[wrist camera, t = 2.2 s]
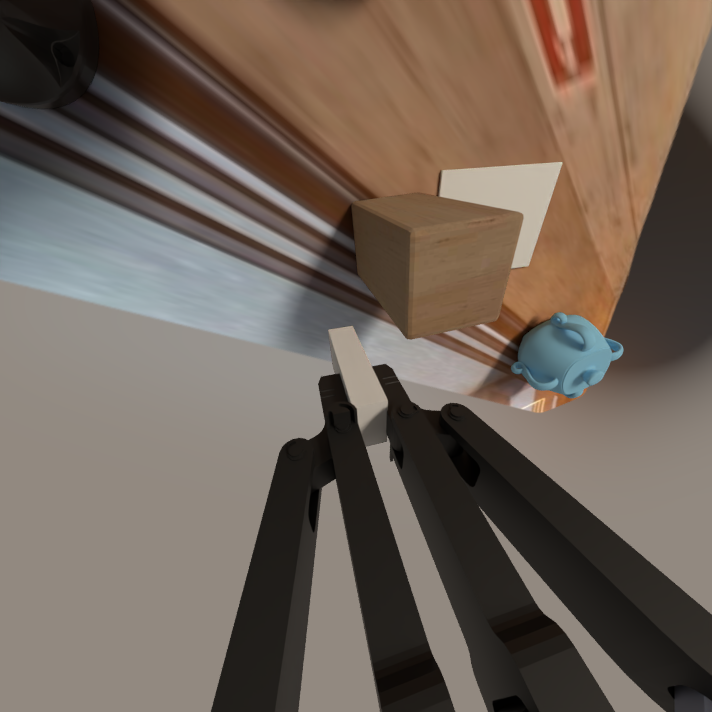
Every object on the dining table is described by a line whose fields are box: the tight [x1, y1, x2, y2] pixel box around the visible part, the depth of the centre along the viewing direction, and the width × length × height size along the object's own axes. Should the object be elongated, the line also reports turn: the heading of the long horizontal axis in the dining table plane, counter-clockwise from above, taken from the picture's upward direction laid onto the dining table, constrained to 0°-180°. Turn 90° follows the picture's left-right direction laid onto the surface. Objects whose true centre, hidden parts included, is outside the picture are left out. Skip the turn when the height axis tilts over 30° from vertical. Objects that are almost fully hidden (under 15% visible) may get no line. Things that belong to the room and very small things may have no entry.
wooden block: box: [351, 193, 524, 339], centre depth 31 cm, size 10×10×20 cm
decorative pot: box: [511, 312, 623, 398], centre depth 55 cm, size 16×16×14 cm
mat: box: [438, 162, 563, 268], centre depth 42 cm, size 15×19×1 cm
